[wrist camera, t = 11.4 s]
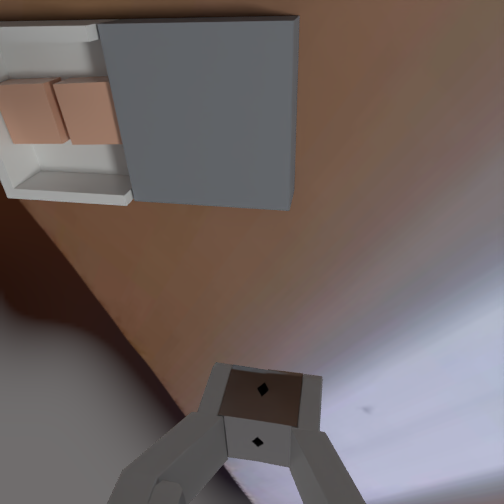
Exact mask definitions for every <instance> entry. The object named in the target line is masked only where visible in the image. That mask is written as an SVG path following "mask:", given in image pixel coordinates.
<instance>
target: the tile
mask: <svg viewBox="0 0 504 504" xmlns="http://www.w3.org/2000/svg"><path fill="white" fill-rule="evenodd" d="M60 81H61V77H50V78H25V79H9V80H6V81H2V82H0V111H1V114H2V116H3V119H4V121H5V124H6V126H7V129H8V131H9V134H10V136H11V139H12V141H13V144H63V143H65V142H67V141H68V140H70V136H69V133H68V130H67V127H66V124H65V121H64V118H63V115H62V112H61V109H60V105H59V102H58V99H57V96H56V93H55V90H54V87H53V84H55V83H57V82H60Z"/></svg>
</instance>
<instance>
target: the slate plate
mask: <svg viewBox="0 0 504 504" xmlns="http://www.w3.org/2000/svg"><path fill="white" fill-rule="evenodd" d="M97 26H98V30H99V35H100V40H101V45H102V49H103V54H104V59H105V63H106V68H107V73H108V78H109V82H110V87H111V92H112V96H113V101H114V106H115V111H116V115H117V120H118V125H119V129H120V134H121V139H122V143H123V148H124V153H125V158H126V162H127V167H128V172H129V176H130V181H131V186H132V191H133V195H134V200H135V201H144V202H160V203H175V204H191V205H207V206H222V207H238V208H254V209H269V210H285V211H289V210H290V206H291V201H292V197H293V193H294V181H295V148H296V115H297V82H298V49H299V16H252V17H201V18H150V19H120V20H115V21H110V22H105V23H100V24H97Z"/></svg>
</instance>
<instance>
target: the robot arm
mask: <svg viewBox="0 0 504 504" xmlns="http://www.w3.org/2000/svg"><path fill="white" fill-rule="evenodd" d="M322 381H323V379H322V376H315V375H307V374H304V375H303V373H294V372H286V371H277V370H269V369H268V370H264V369H257V368H251V367H245V366H239V365H232V364H225V363H218V362H216V363H215V365H214V366H213V368H212V371H211V374H210V377H209V379H208V382H207V385H206V388H205V391H204V394H203V397H202V400H201V403H200V406H199V409H198V412H191V413H190V414H189V415H188V416H186V417H185V418H184V419H183V420H182V421H180V422H179V423H178V424H177V425H176V426H175V427H173V428H172V429H171V430H170V431H169V432H167V433H166V434H165V435H164V436H163V437H162V438H160V439H159V440H158V441H157V442H156V443H154V444H153V445H152V446H151V447H150V448H148V449H147V450H146V451H145V452H144V453H142V455H140V456H139V457H138V458H137V459H135V460H134V461H133V462H132V463H131V464H130V465H128V466H127V467H126V468H125V469H124V470H122V472H121V474H120V477H119V479H118V481H117V483H116V485H115V487H114V490H113V492H112V494H111V496H110V498H109V501H108V503H107V504H189V503H190V502H191V501H192V500H193V499H194V497H195V496H196V495H197V494H198V493H199V492H200V490H201V489H202V488H203V487H204V486H205V484H207V482H208V481H209V480H210V479H211V478H212V477H213V475H214V474H215V473H216V472H217V471H218V470H219V469H220V467H221V466H222V465H223V464H224V463H225V462H226V461H227V459H228V458H227V457H231V458H238V459H245V460H252V461H259V462H264V463H269V464H274V465H279V466H284V467H289V468H290V471H291V474H292V476H293V479H294V481H295V484H296V486H297V489H298V491H299V494H300V496H301V499H302V501H303V504H366V503H365V501H364V499H363V498H362V496H361V494H360V492H359V491H358V489H357V487H356V485H355V484H354V482H353V480H352V478H351V477H350V475H349V473H348V471H347V470H346V468H345V466H344V464H343V463H342V461H341V459H340V457H339V456H338V454H337V452H336V450H335V449H334V447H333V445H332V443H331V442H330V440H329V438H328V436H327V435H326V433H325V432H321V431H320V415H321V398H322Z"/></svg>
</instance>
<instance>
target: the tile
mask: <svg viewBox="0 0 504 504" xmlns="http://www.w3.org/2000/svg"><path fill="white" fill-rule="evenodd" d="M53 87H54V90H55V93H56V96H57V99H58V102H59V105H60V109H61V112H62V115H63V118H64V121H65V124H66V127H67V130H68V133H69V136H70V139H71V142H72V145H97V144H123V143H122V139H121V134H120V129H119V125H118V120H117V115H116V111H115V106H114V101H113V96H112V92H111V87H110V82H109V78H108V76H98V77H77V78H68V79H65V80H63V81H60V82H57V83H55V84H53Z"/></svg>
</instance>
